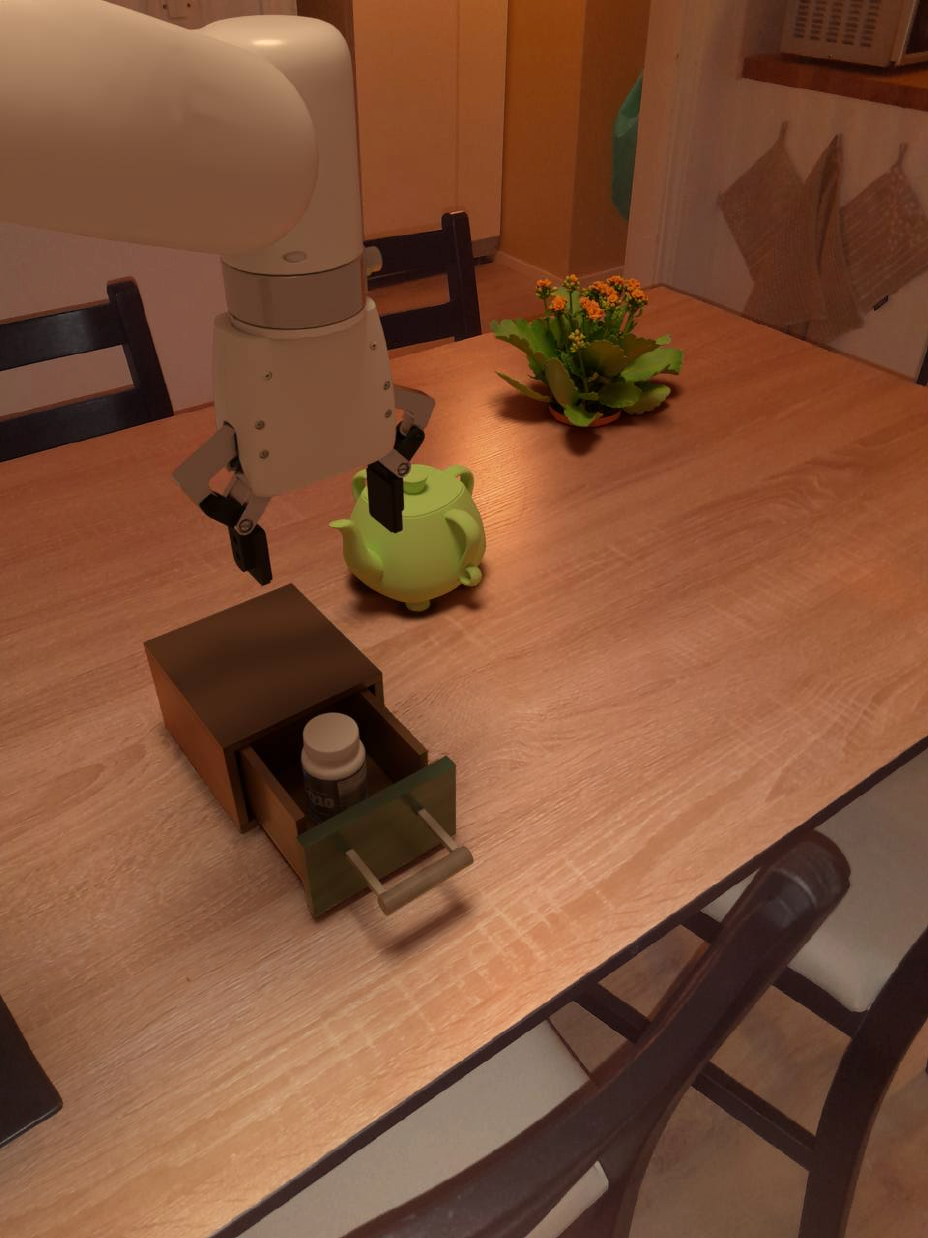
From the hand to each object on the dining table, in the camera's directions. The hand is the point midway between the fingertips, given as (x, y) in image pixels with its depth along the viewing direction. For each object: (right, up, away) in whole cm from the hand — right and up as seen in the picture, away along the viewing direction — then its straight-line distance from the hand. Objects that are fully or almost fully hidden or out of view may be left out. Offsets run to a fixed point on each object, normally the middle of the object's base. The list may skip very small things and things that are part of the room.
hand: (323, 547), depth 63 cm
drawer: (+1, -21, +11) cm, 24 cm away
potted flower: (+25, +23, +68) cm, 76 cm away
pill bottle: (0, -19, +12) cm, 23 cm away
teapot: (+3, -1, +38) cm, 38 cm away
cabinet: (-7, -15, +20) cm, 26 cm away
